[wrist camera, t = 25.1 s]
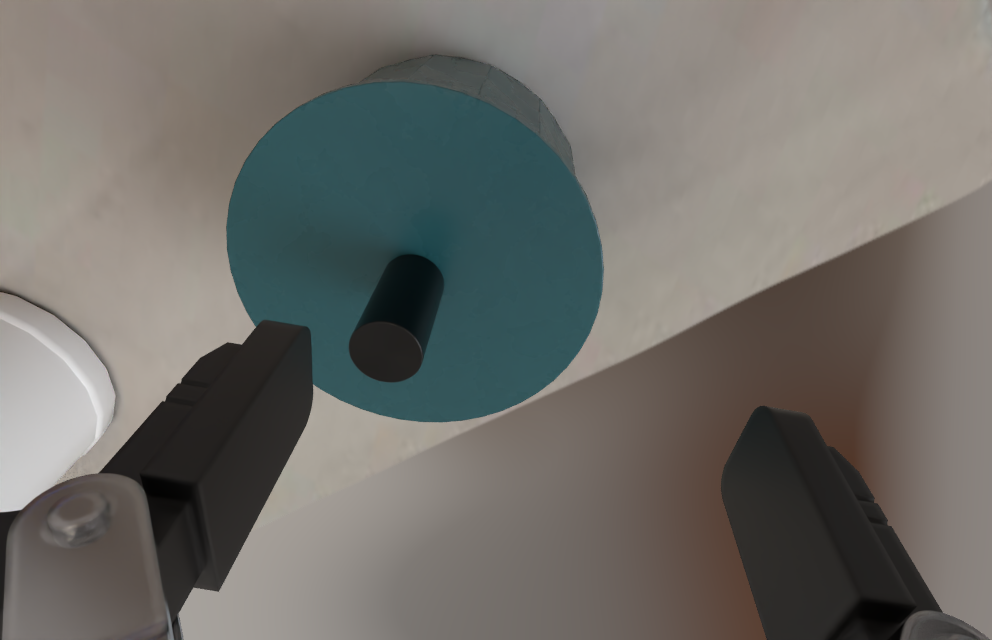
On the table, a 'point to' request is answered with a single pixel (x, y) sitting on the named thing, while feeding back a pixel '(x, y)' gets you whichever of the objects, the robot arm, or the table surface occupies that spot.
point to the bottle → (45, 400)
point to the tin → (483, 91)
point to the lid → (417, 249)
